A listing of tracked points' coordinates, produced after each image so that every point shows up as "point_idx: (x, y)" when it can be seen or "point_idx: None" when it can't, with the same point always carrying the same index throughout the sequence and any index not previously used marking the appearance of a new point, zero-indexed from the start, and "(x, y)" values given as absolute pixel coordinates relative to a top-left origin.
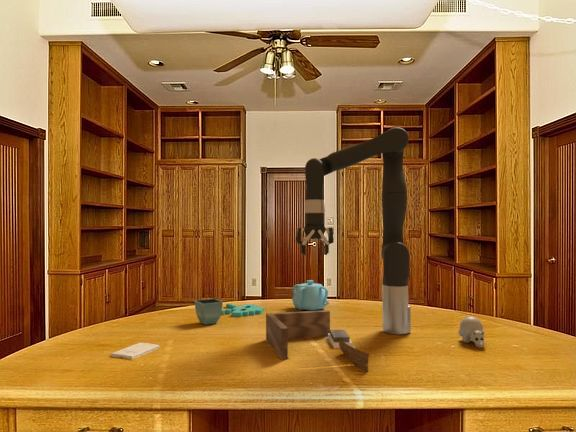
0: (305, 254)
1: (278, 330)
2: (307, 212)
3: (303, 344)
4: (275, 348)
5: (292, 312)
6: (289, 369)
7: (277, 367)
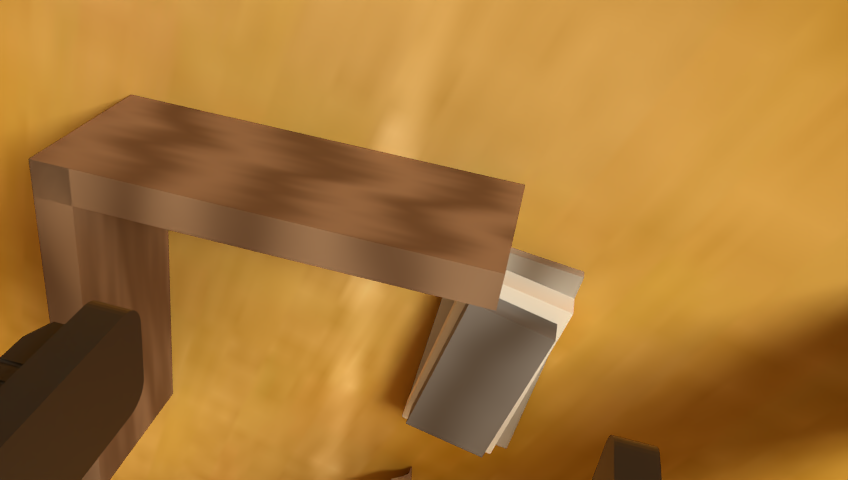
0: (130, 408)
1: None
2: None
3: (305, 264)
4: None
5: (216, 214)
6: (154, 472)
7: None
